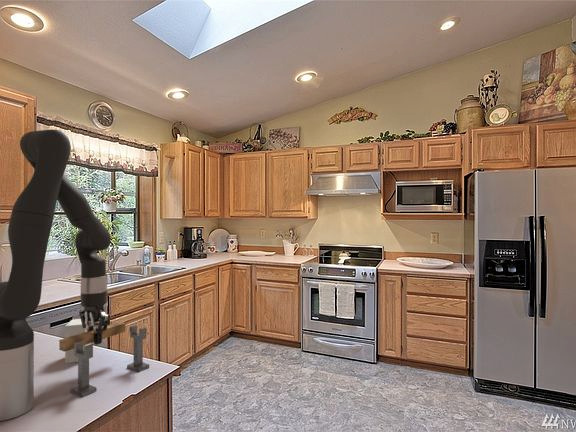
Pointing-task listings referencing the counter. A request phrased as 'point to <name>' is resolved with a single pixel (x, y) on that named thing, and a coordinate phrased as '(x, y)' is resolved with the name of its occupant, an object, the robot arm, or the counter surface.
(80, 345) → the grey support rack
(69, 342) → the tan wooden bar
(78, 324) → the small box
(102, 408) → the counter surface
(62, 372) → the counter surface
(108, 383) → the counter surface
